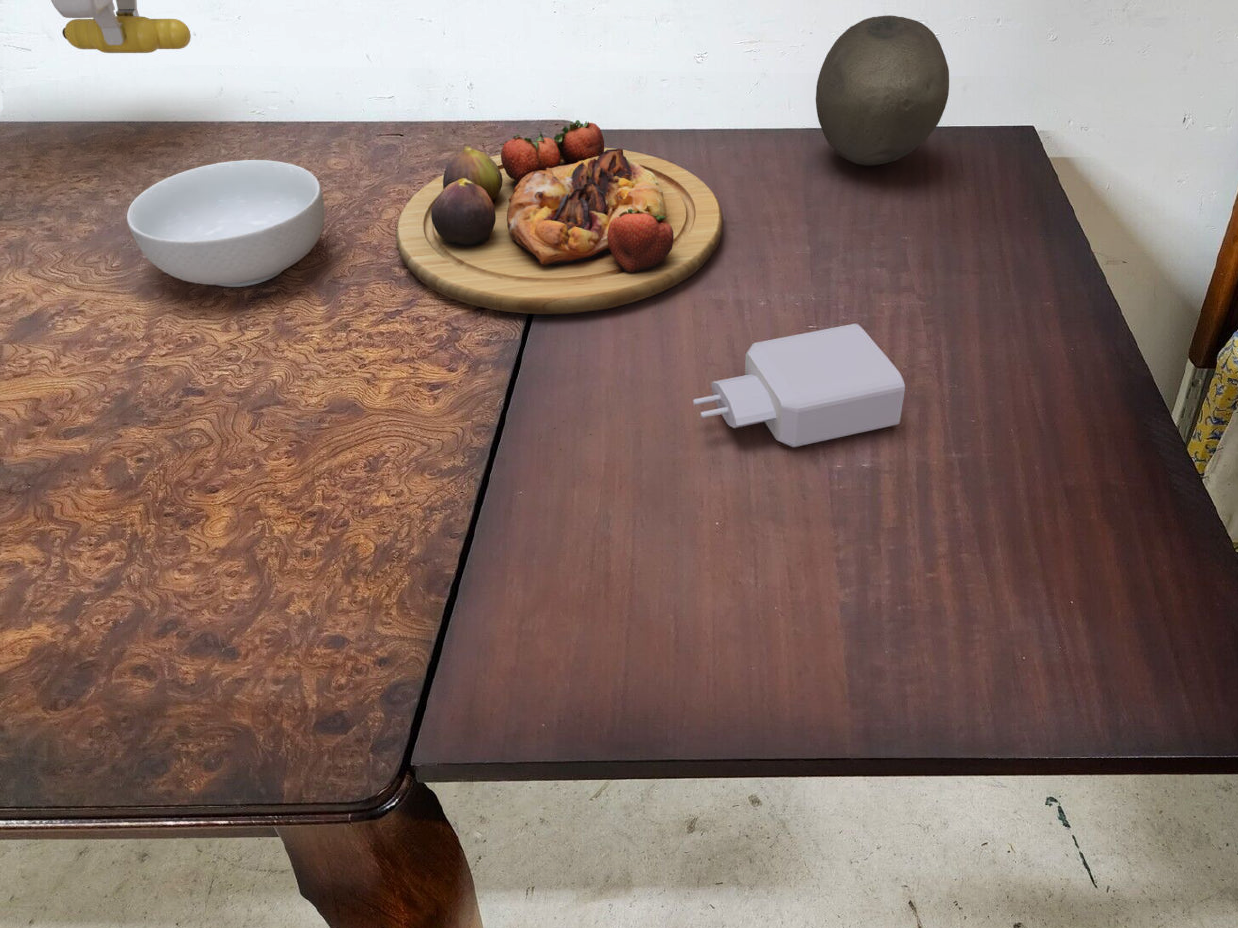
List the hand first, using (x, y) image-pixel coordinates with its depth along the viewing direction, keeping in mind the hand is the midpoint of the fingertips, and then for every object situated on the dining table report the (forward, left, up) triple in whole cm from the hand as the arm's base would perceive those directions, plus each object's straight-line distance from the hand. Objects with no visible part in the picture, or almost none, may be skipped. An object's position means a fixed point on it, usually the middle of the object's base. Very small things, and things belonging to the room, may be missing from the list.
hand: (124, 35), depth 117 cm
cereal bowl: (+16, -30, -12) cm, 36 cm away
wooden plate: (+46, -26, -12) cm, 54 cm away
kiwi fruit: (+80, -12, -12) cm, 82 cm away
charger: (+65, -57, -12) cm, 87 cm away
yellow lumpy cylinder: (0, 0, -2) cm, 2 cm away
